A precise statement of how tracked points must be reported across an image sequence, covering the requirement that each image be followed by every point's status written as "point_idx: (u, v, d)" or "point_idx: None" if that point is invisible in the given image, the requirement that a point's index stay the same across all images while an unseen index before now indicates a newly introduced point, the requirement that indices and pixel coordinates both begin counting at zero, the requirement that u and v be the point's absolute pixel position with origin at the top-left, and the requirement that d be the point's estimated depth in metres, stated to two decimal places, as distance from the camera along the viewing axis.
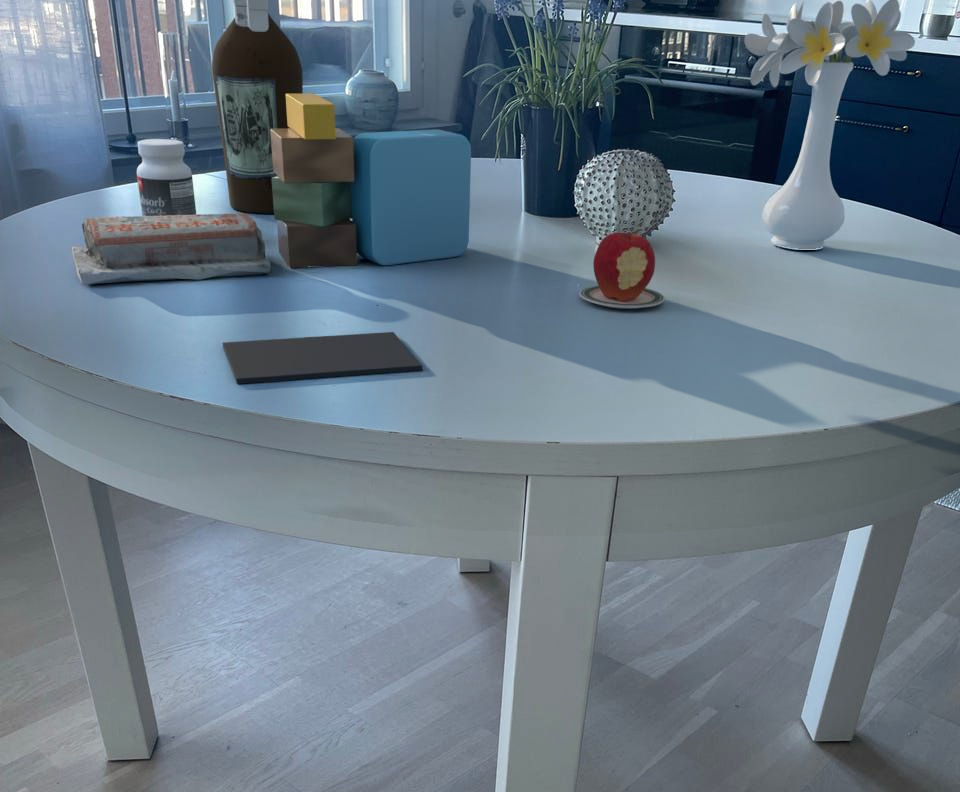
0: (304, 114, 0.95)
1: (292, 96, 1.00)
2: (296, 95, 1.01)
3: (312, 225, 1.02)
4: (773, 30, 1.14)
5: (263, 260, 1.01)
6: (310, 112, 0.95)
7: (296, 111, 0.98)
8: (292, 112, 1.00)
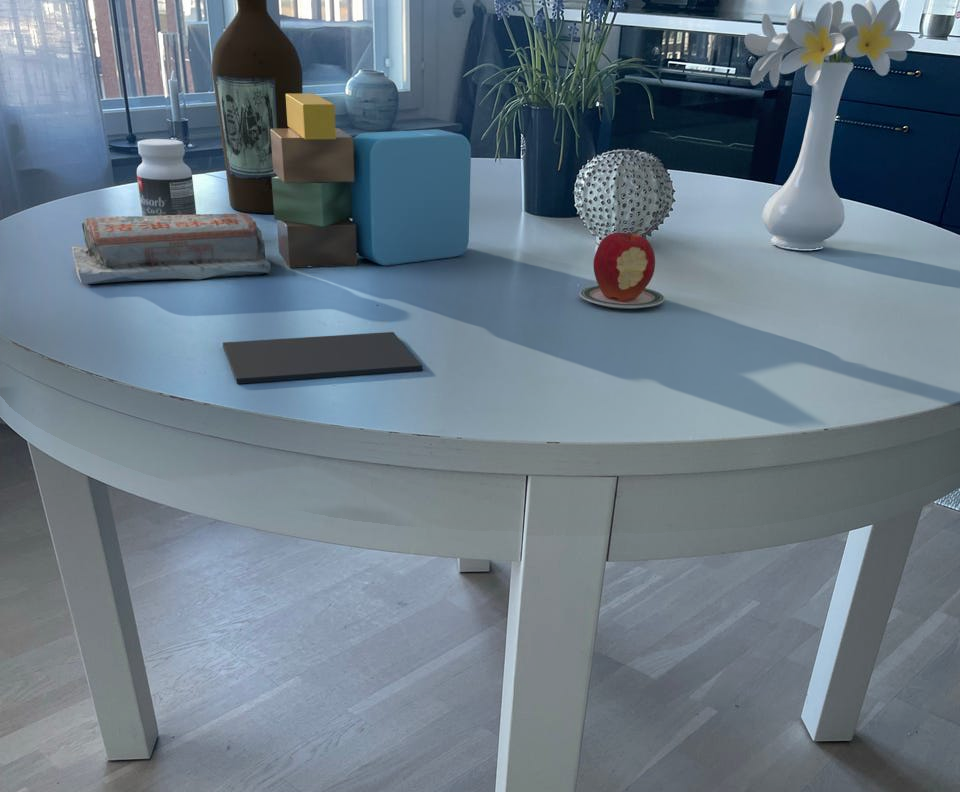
0: (304, 114, 0.95)
1: (292, 96, 1.00)
2: (296, 95, 1.01)
3: (312, 225, 1.02)
4: (773, 30, 1.14)
5: (263, 260, 1.01)
6: (310, 112, 0.95)
7: (296, 111, 0.98)
8: (292, 112, 1.00)
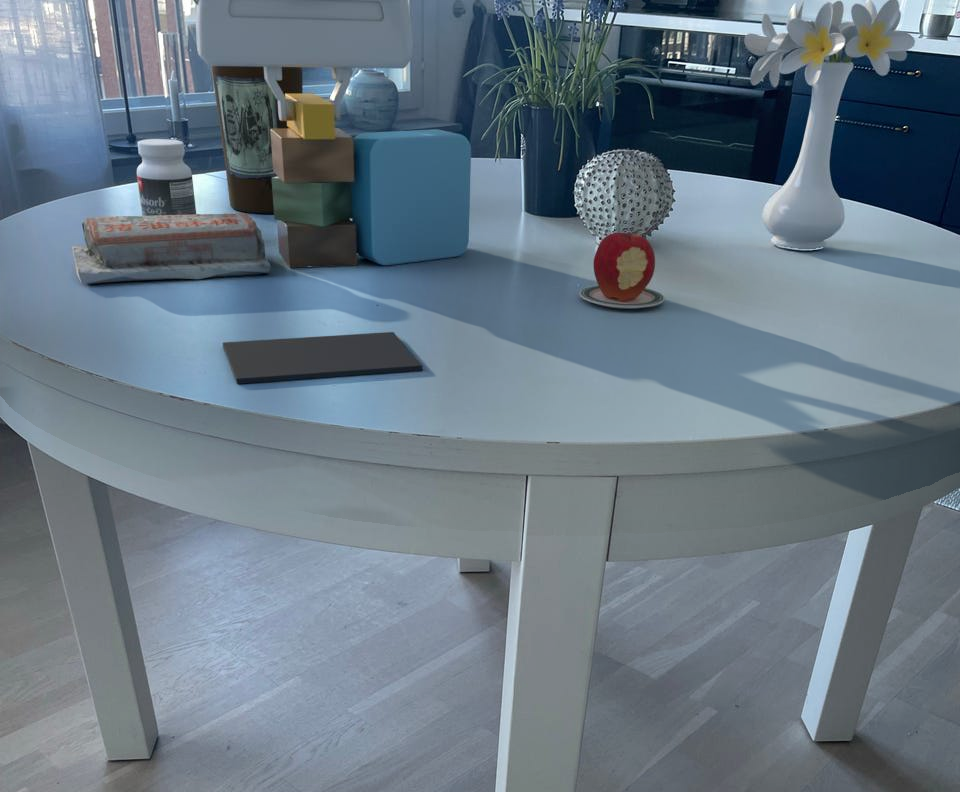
0: (303, 114, 0.95)
1: (291, 96, 1.00)
2: (295, 95, 1.01)
3: (312, 225, 1.02)
4: (773, 30, 1.14)
5: (263, 260, 1.01)
6: (309, 112, 0.95)
7: (295, 111, 0.98)
8: None
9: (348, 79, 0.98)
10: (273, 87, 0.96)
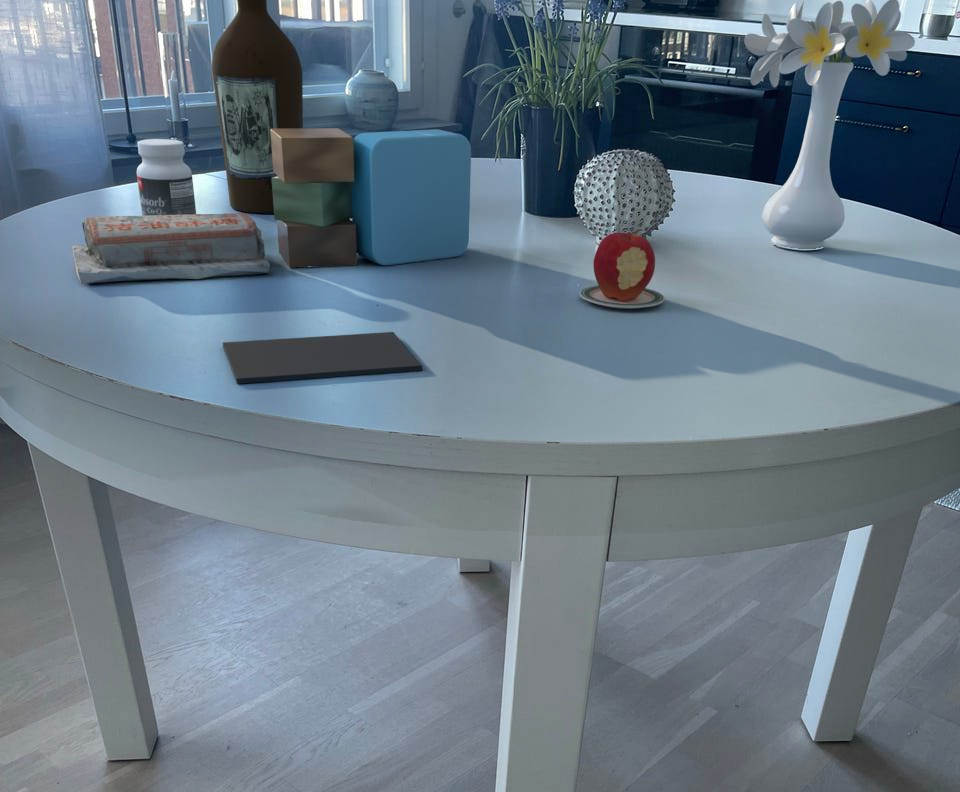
0: None
1: None
2: None
3: (312, 225, 1.02)
4: (773, 30, 1.14)
5: (262, 260, 1.01)
6: None
7: None
8: None
9: None
10: None
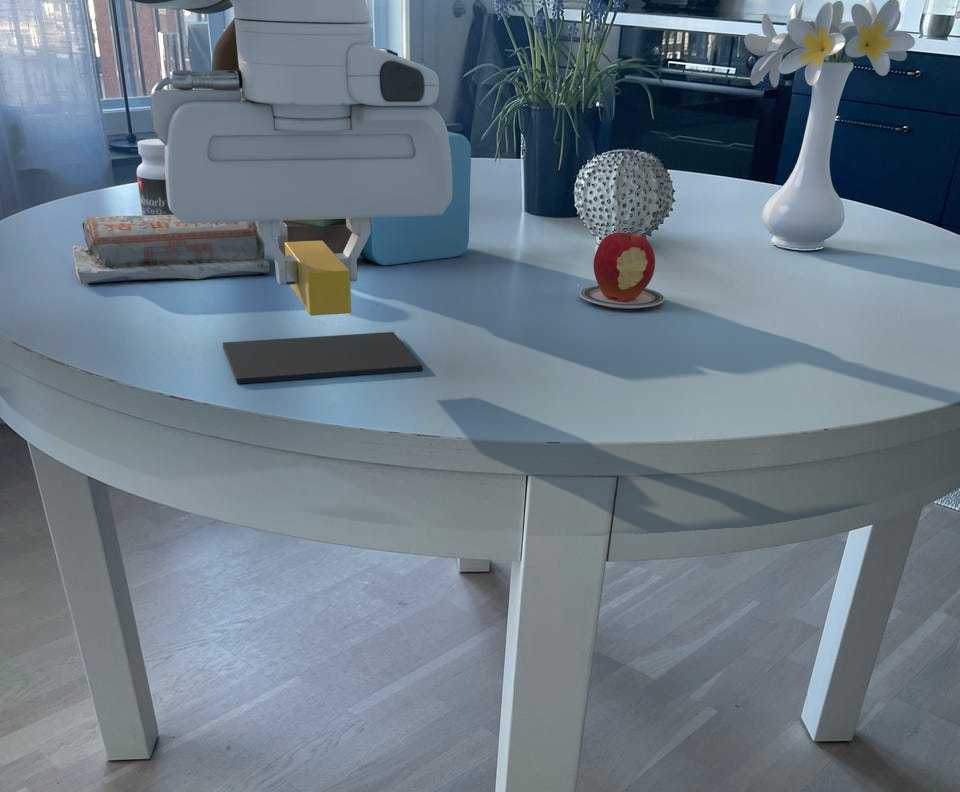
0: (309, 285, 0.71)
1: (293, 250, 0.76)
2: (298, 246, 0.77)
3: (312, 225, 1.02)
4: (773, 30, 1.14)
5: (262, 260, 1.01)
6: (317, 282, 0.71)
7: (298, 274, 0.74)
8: None
9: (368, 231, 0.74)
10: (269, 245, 0.73)
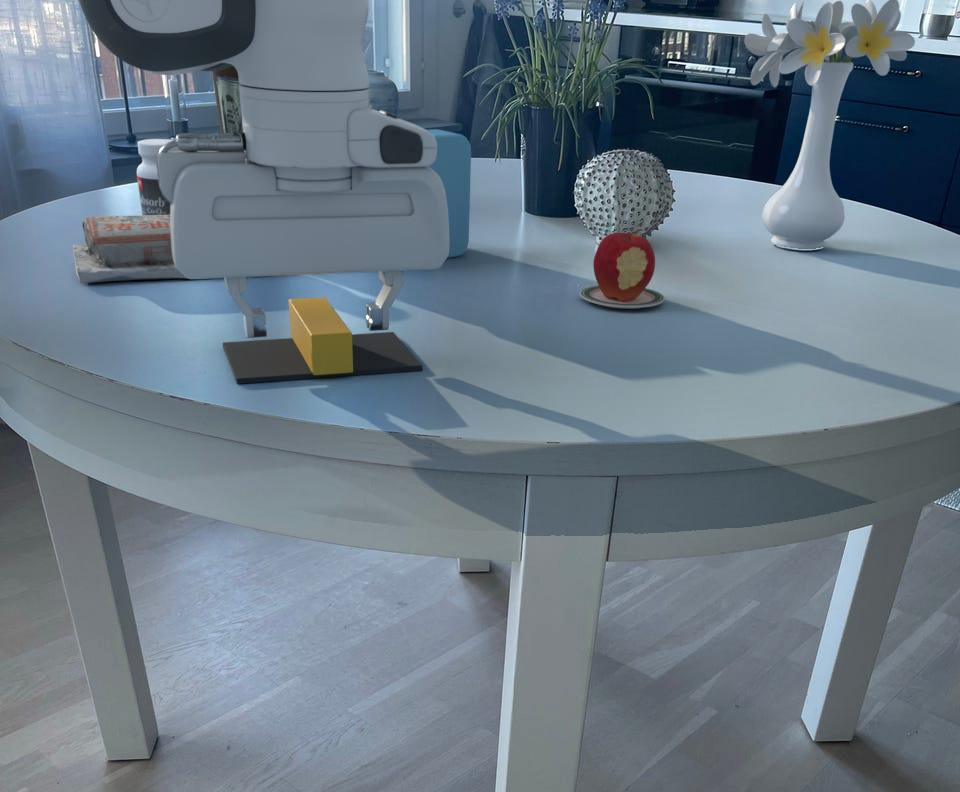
0: (313, 346, 0.73)
1: (297, 308, 0.79)
2: (302, 304, 0.80)
3: None
4: (773, 30, 1.14)
5: None
6: (320, 343, 0.73)
7: (302, 333, 0.77)
8: (297, 328, 0.79)
9: (400, 283, 0.77)
10: (236, 300, 0.74)
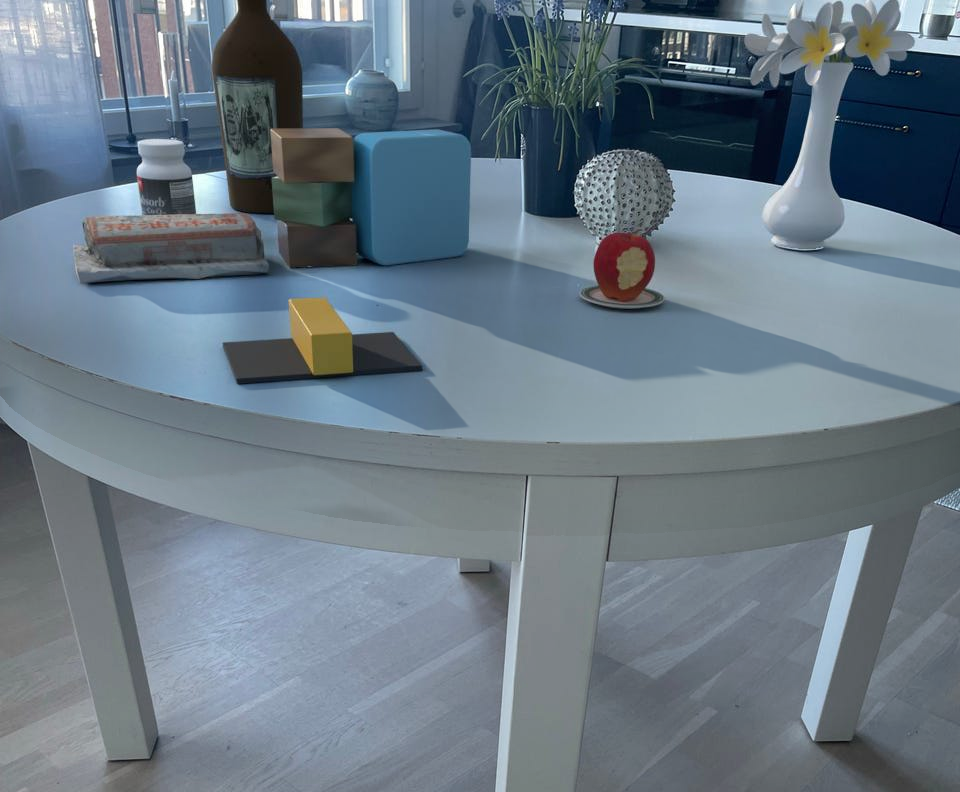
0: (313, 346, 0.73)
1: (297, 308, 0.79)
2: (302, 304, 0.80)
3: (312, 225, 1.02)
4: (773, 30, 1.14)
5: (262, 260, 1.01)
6: (320, 343, 0.73)
7: (302, 333, 0.77)
8: (297, 328, 0.79)
9: None
10: None
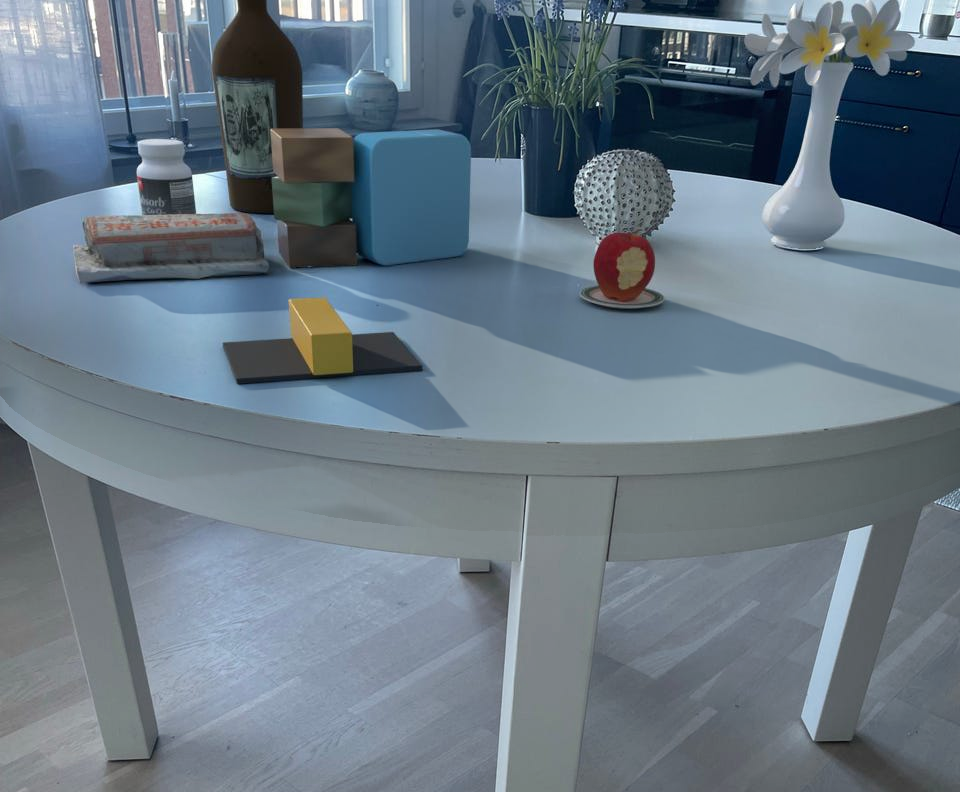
0: (313, 346, 0.73)
1: (297, 308, 0.79)
2: (302, 304, 0.80)
3: (312, 225, 1.02)
4: (773, 30, 1.14)
5: (261, 260, 1.01)
6: (320, 343, 0.73)
7: (302, 333, 0.77)
8: (297, 328, 0.79)
9: None
10: None
